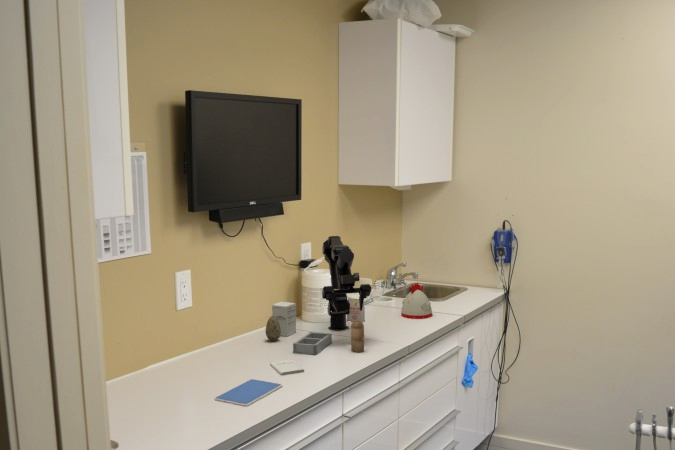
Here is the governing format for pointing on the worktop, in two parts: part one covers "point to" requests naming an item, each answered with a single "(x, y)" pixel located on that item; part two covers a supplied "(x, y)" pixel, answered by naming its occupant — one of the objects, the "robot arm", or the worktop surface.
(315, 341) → the grey divided tray
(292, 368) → the external hard drive
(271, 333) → the decorative egg
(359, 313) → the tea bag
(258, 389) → the tablet computer
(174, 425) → the worktop surface
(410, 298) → the grey beanie hat
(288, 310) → the supplement box
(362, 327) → the dome-topped wooden peg
